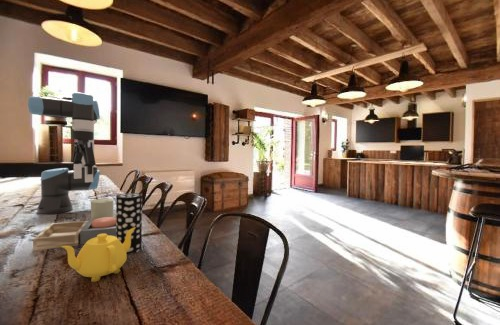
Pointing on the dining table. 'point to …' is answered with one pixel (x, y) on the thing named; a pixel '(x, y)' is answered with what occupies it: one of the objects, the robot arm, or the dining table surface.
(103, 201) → the can
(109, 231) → the grey square tray
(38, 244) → the wooden tray
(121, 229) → the spotted tube
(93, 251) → the teapot
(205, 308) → the dining table surface
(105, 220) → the pad
